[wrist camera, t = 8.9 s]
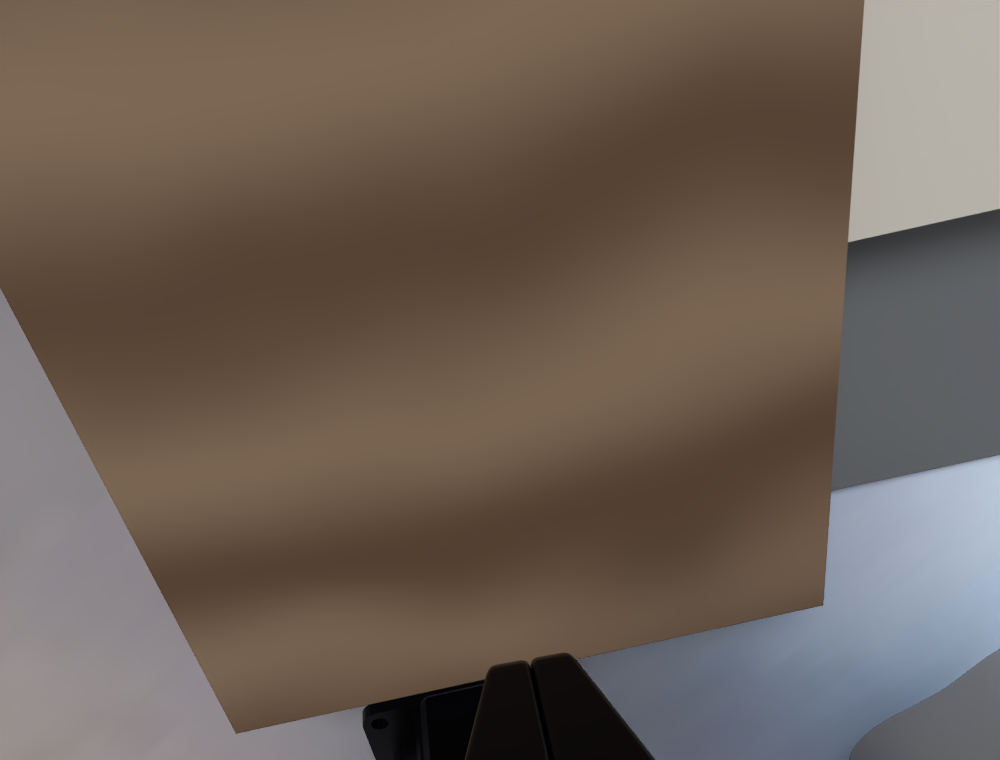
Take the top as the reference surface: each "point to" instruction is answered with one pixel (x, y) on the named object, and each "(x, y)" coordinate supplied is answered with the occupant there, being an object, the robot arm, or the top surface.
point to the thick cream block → (926, 114)
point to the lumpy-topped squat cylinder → (944, 722)
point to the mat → (919, 351)
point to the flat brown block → (439, 317)
